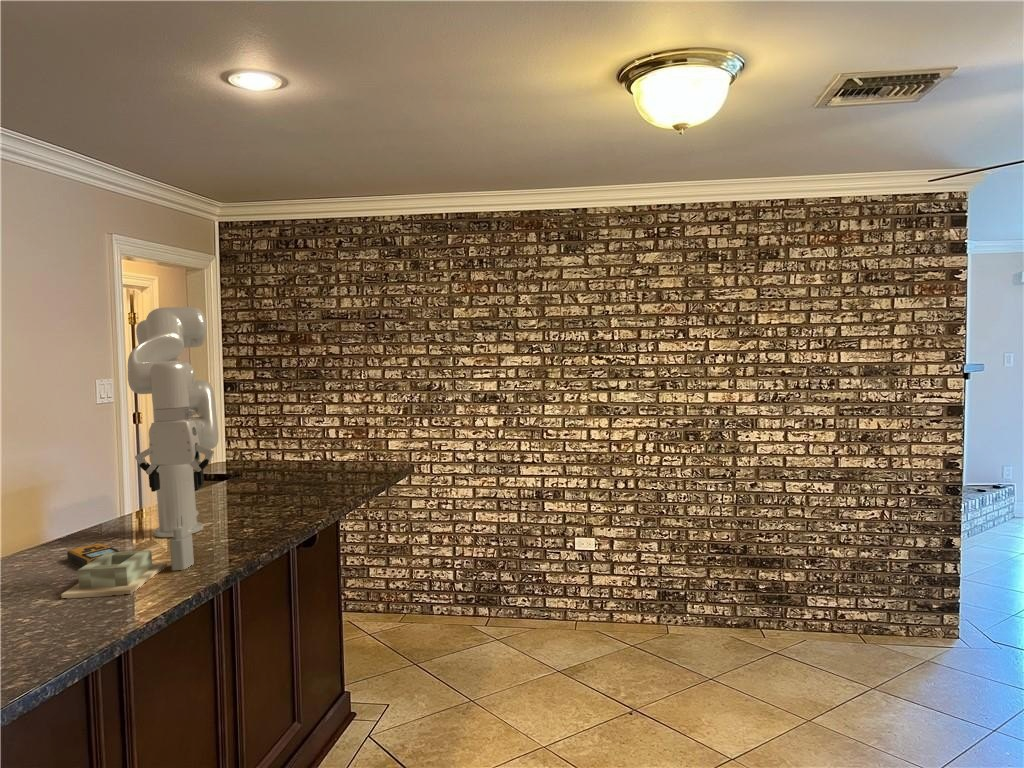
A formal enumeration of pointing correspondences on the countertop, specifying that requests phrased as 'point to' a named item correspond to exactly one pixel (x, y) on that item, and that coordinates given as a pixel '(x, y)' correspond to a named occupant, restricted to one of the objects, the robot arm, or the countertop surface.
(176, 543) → the power adapter
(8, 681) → the countertop surface
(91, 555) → the electronic device
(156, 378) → the robot arm
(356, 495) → the countertop surface
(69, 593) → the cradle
